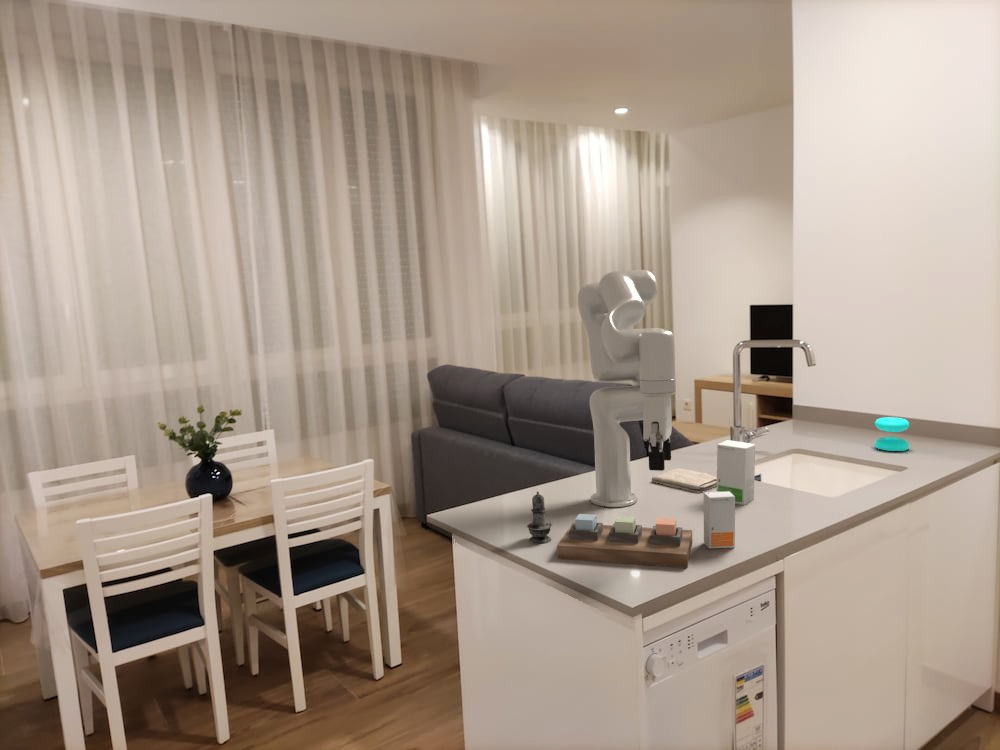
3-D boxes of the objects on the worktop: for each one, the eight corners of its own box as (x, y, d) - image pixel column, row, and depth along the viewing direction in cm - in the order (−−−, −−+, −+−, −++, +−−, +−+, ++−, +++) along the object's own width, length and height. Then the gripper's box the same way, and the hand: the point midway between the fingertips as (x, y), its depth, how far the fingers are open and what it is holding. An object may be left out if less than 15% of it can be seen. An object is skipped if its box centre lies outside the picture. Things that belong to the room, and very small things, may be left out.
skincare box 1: (708, 549, 163) (708, 497, 161) (703, 542, 167) (702, 492, 166) (736, 548, 163) (735, 496, 161) (730, 541, 167) (729, 490, 166)
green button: (618, 526, 167) (617, 515, 166) (635, 527, 165) (635, 516, 165) (615, 532, 163) (614, 521, 163) (633, 533, 162) (632, 522, 161)
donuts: (902, 423, 233) (870, 420, 240) (902, 454, 234) (869, 450, 242) (914, 418, 240) (881, 415, 247) (913, 448, 241) (881, 444, 248)
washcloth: (701, 495, 204) (700, 484, 203) (649, 484, 218) (649, 474, 217) (725, 486, 211) (724, 475, 211) (673, 475, 225) (673, 465, 225)
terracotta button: (658, 529, 164) (657, 518, 164) (676, 530, 163) (676, 519, 162) (656, 535, 160) (655, 523, 160) (674, 536, 159) (674, 525, 158)
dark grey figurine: (551, 534, 177) (548, 486, 176) (553, 543, 172) (551, 494, 170) (526, 536, 177) (524, 488, 176) (528, 545, 171) (526, 495, 170)
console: (572, 535, 176) (572, 515, 176) (692, 542, 167) (692, 521, 167) (557, 558, 162) (556, 536, 162) (687, 568, 153) (686, 545, 153)
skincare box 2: (715, 500, 197) (714, 444, 195) (726, 494, 202) (726, 439, 200) (745, 505, 192) (745, 447, 190) (756, 499, 196) (755, 442, 194)
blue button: (579, 524, 170) (579, 513, 169) (596, 525, 168) (596, 514, 168) (575, 530, 166) (575, 519, 166) (592, 531, 165) (592, 520, 164)
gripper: (647, 382, 168) (649, 456, 169) (632, 393, 152) (635, 473, 153) (680, 382, 165) (683, 456, 167) (669, 392, 149) (672, 475, 151)
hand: (660, 464), depth 160 cm, fingers open, 9 cm apart
